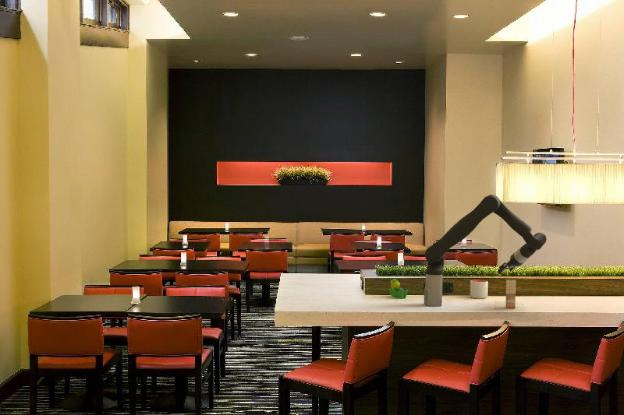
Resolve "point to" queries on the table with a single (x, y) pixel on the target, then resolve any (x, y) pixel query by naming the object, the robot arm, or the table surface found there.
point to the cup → (479, 289)
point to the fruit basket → (397, 290)
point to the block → (510, 293)
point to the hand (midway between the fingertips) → (504, 271)
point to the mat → (503, 306)
